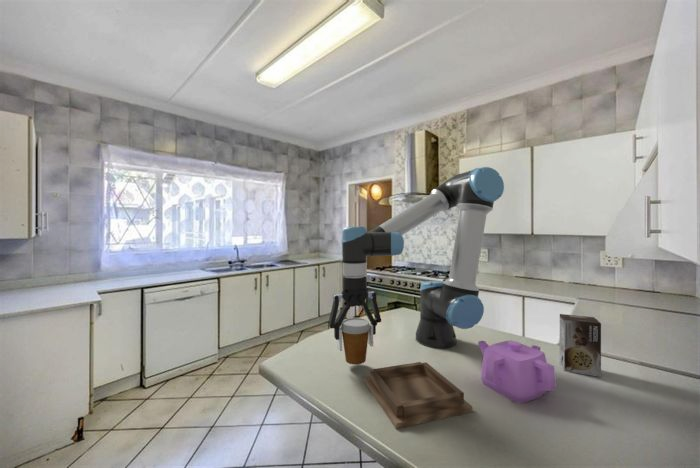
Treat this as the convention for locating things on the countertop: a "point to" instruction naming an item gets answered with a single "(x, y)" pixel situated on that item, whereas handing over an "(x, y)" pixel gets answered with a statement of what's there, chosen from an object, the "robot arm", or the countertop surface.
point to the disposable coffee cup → (355, 339)
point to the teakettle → (516, 370)
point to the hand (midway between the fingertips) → (355, 346)
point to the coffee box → (580, 344)
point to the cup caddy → (415, 394)
